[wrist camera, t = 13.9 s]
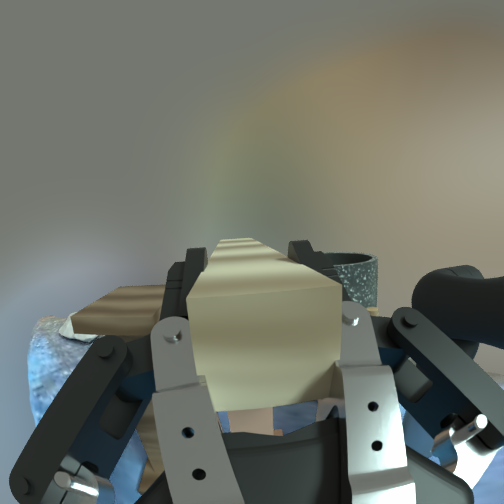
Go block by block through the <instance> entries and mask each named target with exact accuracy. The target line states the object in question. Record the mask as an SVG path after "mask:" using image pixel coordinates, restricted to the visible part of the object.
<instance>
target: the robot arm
mask: <svg viewBox="0 0 504 504" xmlns="http://www.w3.org/2000/svg"><path fill="white" fill-rule="evenodd" d="M288 258H289V259H291V260H293V261H295V262H297V263H299V264H300V265H301V264H303V265H305V266H307V267H309V268H311V269H313V270H315V271H316V272H318V273H320V274H322V275H324V276H326V277H328V278H330V279H332V280H334V281H336V282H338V283H340V284H341V285H342V326H341V349H340V360H335V364H334V370H333V376H332V381H331V386H330V392H329V397H328V398H324V399H319V400H318V408H317V413H316V422H315V423H312V424H310V425H308V426H306V427H303V428H301V429H299V430H296V431H294V432H292V433H289V434H287V435H283V436H275V435H266V434H257V433H249V432H232V433H224V432H223V429H222V426H221V423H220V420H219V417H218V413H217V411H216V410H215V407H214V404H213V401H212V397H211V394H210V391H209V387H208V384H207V381H206V377H205V375H197V372H196V366H195V360H194V353H193V347H192V340H191V333H190V326H189V319H188V311H187V302H186V298H187V296H188V294H189V292H190V291H191V289H192V287H193V286H194V284H195V282H196V280H197V279H198V277H199V275H200V274H201V272H204V270H205V269H206V267H207V265H208V260H207V251H206V248H205V247H204V248H190V249H187V253H186V260H185V262H175V263H174V264H173V266H172V267H171V268H170V270H169V271H168V276H167V282H166V286H165V291H164V296H163V302H162V307H161V313H160V319H159V322H158V323H157V324H156V325H155V326H154V327H153V329H152V331H151V333H150V334H148V335H146V336H144V337H142V338H139V339H136V340H133V341H129V342H126V343H125V341H124V340H123V339H122V338H120V337H118V336H115V335H107V336H103V337H101V338H99V339H97V340H96V341H95V342H94V343H93V344H92V345H91V347H90V348H89V349H88V351H87V352H86V354H85V355H84V356H83V358H82V359H81V360H80V362H79V363H78V365H77V366H76V368H75V369H74V370H73V372H72V373H71V375H70V376H69V378H68V379H67V380H66V382H65V383H64V385H63V386H62V388H61V389H60V391H59V392H58V394H57V395H56V397H55V398H54V400H53V401H52V403H51V404H50V406H49V408H48V409H47V411H46V412H45V414H44V415H43V417H42V419H41V420H40V422H39V424H38V425H37V427H36V428H35V430H34V432H33V434H32V435H31V437H30V439H29V440H28V442H27V444H26V445H25V447H24V449H23V451H22V453H21V454H20V456H19V458H18V460H17V462H16V463H15V465H14V467H13V469H12V471H11V474H10V477H9V485H10V489H11V492H12V494H13V496H14V497H15V499H16V500H17V501H18V502H19V503H20V504H113V503H114V499H115V492H114V488H113V486H112V484H111V483H110V481H109V478H110V476H111V474H112V472H113V470H114V468H115V466H116V464H117V462H118V460H119V459H120V457H121V455H122V453H123V451H124V449H125V447H126V445H127V443H128V442H129V440H130V438H131V436H132V434H133V432H134V430H135V428H136V427H137V425H138V423H139V421H140V419H141V417H142V416H143V414H144V412H145V410H146V408H147V406H148V404H149V403H150V401H151V399H152V402H153V410H154V416H155V423H156V428H157V434H158V440H159V445H160V450H161V455H162V460H163V464H164V469H165V470H164V471H163V472H162V473H161V475H160V476H159V477H158V478H157V479H156V480H155V481H154V483H153V484H152V485H151V486H150V487H149V488H148V489H147V490H146V491H145V492H144V494H143V495H142V496H141V497H140V498H139V499H138V500H137V501H136V502H135V503H134V504H474V495H473V492H472V488H473V486H474V485H475V484H476V482H477V481H478V480H479V478H480V477H481V475H482V474H483V472H484V471H485V469H486V468H487V466H488V465H489V463H490V462H491V460H492V459H493V457H494V455H495V454H496V452H497V451H498V450H499V449H500V448H502V447H503V446H504V390H503V389H502V388H501V387H500V386H499V385H498V384H497V383H496V382H495V381H494V380H493V379H492V378H491V377H490V376H489V375H488V374H487V373H486V372H485V371H484V370H483V369H482V368H481V367H480V366H479V365H478V364H477V363H475V362H474V361H473V359H474V357H475V355H476V352H477V350H478V347H479V343H484V344H487V345H491V346H495V347H498V348H500V349H504V276H503V277H498V278H490V279H484V277H483V276H482V274H481V273H480V271H479V270H478V269H476V268H475V267H473V266H469V265H462V266H456V267H449V268H443V269H437V270H434V271H432V272H430V273H428V274H426V275H425V276H423V277H422V279H420V281H419V282H418V283H417V285H416V287H415V289H414V291H413V295H412V308H410V307H401V308H398V309H397V310H396V311H395V312H394V313H393V315H392V317H391V318H388V317H379V316H371V315H370V314H369V312H368V310H367V309H366V308H365V307H364V306H362V305H361V304H359V303H356V302H352V301H351V299H350V297H349V295H348V293H347V291H346V289H345V287H344V285H343V283H342V281H341V279H340V277H339V276H338V273H337V271H336V269H335V268H334V265H333V263H332V261H331V260H330V258H329V257H327V256H326V255H325V254H324V253H323V252H321V251H319V252H314V251H313V249H312V247H311V244H310V242H309V241H308V240H301V241H290V242H289V247H288ZM409 357H411V358H412V359H413V360H414V361H415V362H416V366H415V365H414V364H413V363H412V362H411V361H410V360H408V358H409ZM398 402H399V403H400V404H401V405H402V406H403V407H404V408H405V409H406V411H405V415H404V418H403V422H402V421H401V415H400V409H399V403H398ZM431 456H434V457H438V458H439V461H440V465H441V466H440V465H438V464H437V463H435V462H433V461H431V460H430V459H428V458H429V457H431Z"/></svg>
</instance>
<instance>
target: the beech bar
mask: <svg viewBox="0 0 504 504" xmlns="http://www.w3.org/2000/svg"><path fill="white" fill-rule="evenodd" d="M186 302H187V311H188V319H189V326H190V333H191V340H192V347H193V353H194V360H195V366H196V372H197V375H205V377H206V381H207V384H208V387H209V391H210V394H211V397H212V401H213V404H214V407H215V410H216V411H234V410H247V409H257V408H267V407H275V406H282V405H289V404H296V403H302V402H308V401H314V400H319V399H324V398H328V397H329V392H330V386H331V381H332V376H333V370H334V364H335V360H340V349H341V326H342V285H341V284H340V283H338V282H336V281H334V280H332V279H330V278H328V277H326V276H324V275H322V274H320V273H318V272H316V271H315V270H313V269H311V268H309V267H307V266H305V265H303V264H301V265H300V264H299V263H297V262H295V261H293V260H291V259H289V258H288V257H287V256H285V255H283V254H282V253H279V252H278V251H276V250H274V249H272V248H270V247H268V246H266V245H264V244H262V243H260V242H258V241H256V240H254V239H252V238H241V239H227V240H220V242H219V244H218V245H217V247H216V249H215V250H214V252H213V254H212V255H211V257H210V259H209V260H208V265H207V267H206V269H205V270H204V272H201V274H200V275H199V277H198V279H197V280H196V282H195V284H194V286H193V287H192V289H191V291H190V292H189V294H188V296H187V298H186Z"/></svg>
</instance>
